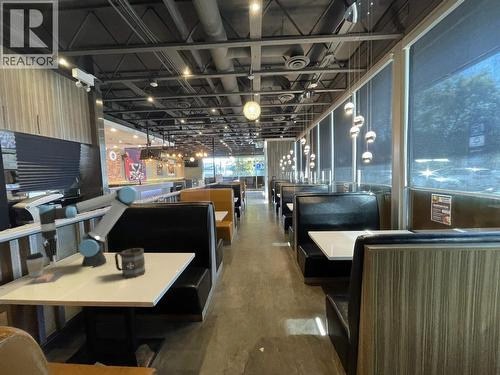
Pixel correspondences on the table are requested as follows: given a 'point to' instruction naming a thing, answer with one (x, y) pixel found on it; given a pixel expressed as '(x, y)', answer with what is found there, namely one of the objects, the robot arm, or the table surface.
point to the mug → (131, 262)
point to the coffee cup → (35, 264)
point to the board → (56, 277)
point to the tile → (44, 278)
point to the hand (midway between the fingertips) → (53, 266)
